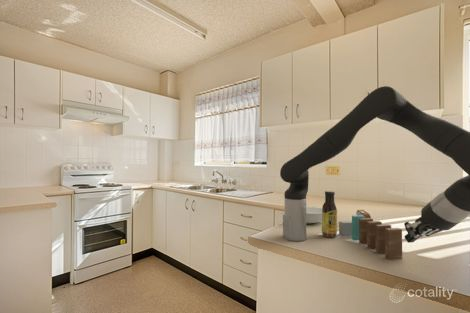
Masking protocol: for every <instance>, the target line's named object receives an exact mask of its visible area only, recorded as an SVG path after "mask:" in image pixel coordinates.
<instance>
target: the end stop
mask: <svg viewBox="0 0 470 313" xmlns="http://www.w3.org/2000/svg"><path fill="white" fill-rule="evenodd" d="M338 235H340V236H341V237H352V220H339V221H338Z"/></svg>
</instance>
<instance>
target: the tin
mask: <svg viewBox="0 0 470 313" xmlns="http://www.w3.org/2000/svg"><path fill="white" fill-rule="evenodd" d="M355 213H356V216H358V215H363V216H365V218H372V216H371V214H370V213H369V212H368V211H366V210H365V209H357V210H356V212H355Z"/></svg>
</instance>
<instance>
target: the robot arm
mask: <svg viewBox="0 0 470 313" xmlns="http://www.w3.org/2000/svg"><path fill="white" fill-rule="evenodd" d="M376 118H377V119H379V120H383V121H386V122H388V123H391V124H394V125H396V126H399V127H401V128H404V129H406V130H407V131H409V132H411V133H412V134H413V135H415V136H416V137H417V138H419V139H420V140H422V141H423V142H425V143H426V144H427V145H429V146H430V147H432V148H433V149H435V150H437V151H439V152H440V153H442V154H443V155H445V156H447V157H449V158H451V159H452V160H453V161H454V162H455V164H456V165H457V166H458V167H460V169H462V170H463V172H465V173H466V174H467V175H465V176H463V177H461V178H459V179H457V180H455V181H454V182H453V183H452V184H451V185H449V186H448V187H447V188H446V189H445V190H444V191H441V192H440V193H439V194H437V195H436V196H434V197H433V199H431V200H430V201H429V202H428V203H427V204H426V205H424V206H423V207H422V208H421V211H420V214H421V215H420V217H418V218H417V219H415V220H414V222H409V221H405V222H404V223H403V224H404V228H405V231H406V232H407V233H406V234H405V235H404V239H405V241H406V243H414V242H416V241H417V240H418V239H419V238H423V237H430V236H432V235H435V234H438V233H441V232H443V231H450V230H451V229H453V228H454V227H456V226H457V225H459V224H460V223H461V222H463V221H464V220H466V219H468V217H470V131H468V130H466V129H464V128H462V127H460V126H459V125H456V124H454V123H452V122H449V121H446V120H445V119H442V118H440V117H437V116H433V115H431V114H429V113H426V112H425V111H423V110H421V109H419V108H418V107H417V106H415V104H412V103H411V102H410V101H409V100H407V98H405V97H404V95H403V94H402V93H400V92H399V91H397V90H396V89H394V88H393V87H391V86H388V85H387V86H386V85H384V86H383V85H382V86H380V87H378V88H376V89H373V91H371V92H370V93H369V94H367V95H366V96H365V97H364V98H363V99H362V100H361V101H360V102H359V103H358V104H356V106H355V107H354V108H353V109H352V110H351V111H349V113H348V114H346V115H345V116H344V117H343V118H341V119H340V120H339V121H338V122H337V123H336V124H335V125H334V126H332V127H331V128H329V129H328V130H326V131H325V132H324V133H323V134H322V135H320V136H319V137H318V138H317V139H316V140H315V141H314V142H312V143H311V144H309V146H307V147H306V148H305V149H304V150H303V151H301V152H300V153H299V154H297V155H296V156H295V157H292V158H291V159H290V160H288V161H286V162H285V163H283V165H282V166H281V168H280V173H279V174H280V175H279V176H280V178H281V179H282V180H283V182H285V183H288V184H289V187H288V188H287V189H286V190H285V191H284V196H283V197H284V214H282V236H283V238H285V239H286V240H287V241H294V242H301V241H302V242H303V241H306V240H307V223H306V206H307V194H308V191H309V179H310V178H309V176H310V174H309V169H312V168H313V167H315V166H317V165H320V164H323V163H324V162H328V161H329V160H332V159H333V158H334V157H336V156H337V155H339V154H340V153H342V152H344V151H345V150H346V149H347V148H348V147H349V146H350V145H351V144H352V142H353V140H354V139H355V137H356V135H357V134H358V132H359V131H361V130H362V128H364V127H365V126H366V125H368V124H369V123H370V122H371V121H373V120H376Z"/></svg>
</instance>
